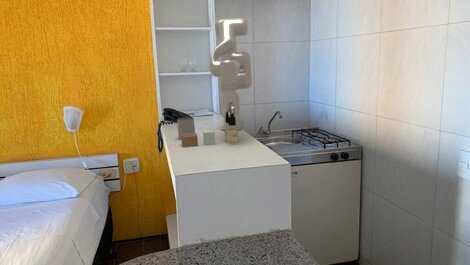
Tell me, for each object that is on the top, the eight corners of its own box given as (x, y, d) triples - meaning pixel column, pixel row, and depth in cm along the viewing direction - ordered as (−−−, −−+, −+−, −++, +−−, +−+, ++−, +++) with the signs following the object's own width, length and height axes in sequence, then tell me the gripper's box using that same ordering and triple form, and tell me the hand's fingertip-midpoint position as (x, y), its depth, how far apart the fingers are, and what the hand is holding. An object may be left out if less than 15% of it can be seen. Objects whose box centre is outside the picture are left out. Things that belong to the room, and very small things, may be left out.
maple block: (225, 141, 179) (224, 128, 178) (235, 140, 180) (235, 128, 179) (227, 143, 174) (226, 130, 173) (237, 142, 175) (237, 129, 174)
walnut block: (181, 144, 177) (181, 134, 176) (196, 143, 178) (195, 132, 177) (182, 147, 170) (182, 137, 169) (198, 146, 171) (197, 135, 170)
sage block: (203, 143, 177) (203, 130, 176) (214, 142, 178) (213, 130, 176) (204, 145, 172) (203, 132, 171) (215, 144, 173) (214, 131, 172)
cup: (192, 140, 185) (190, 120, 183) (176, 140, 186) (174, 120, 185) (197, 136, 193) (195, 117, 191) (182, 136, 195) (180, 117, 193)
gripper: (218, 87, 180) (220, 122, 182) (223, 88, 163) (225, 127, 166) (233, 86, 181) (235, 121, 184) (240, 87, 164) (241, 126, 167)
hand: (230, 124), depth 175 cm, fingers open, 9 cm apart
